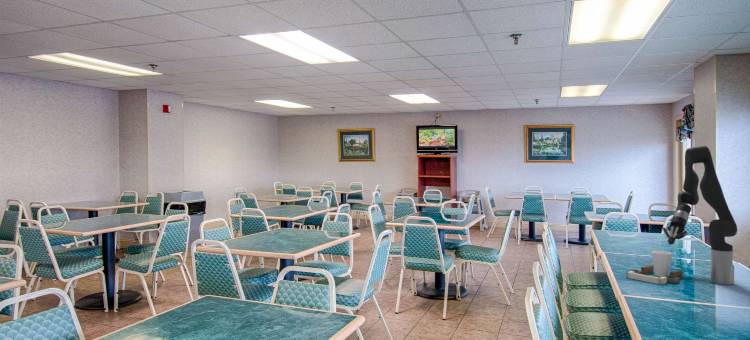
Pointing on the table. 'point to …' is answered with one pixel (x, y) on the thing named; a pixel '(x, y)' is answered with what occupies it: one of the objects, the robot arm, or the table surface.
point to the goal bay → (646, 278)
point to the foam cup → (661, 263)
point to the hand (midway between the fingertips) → (670, 243)
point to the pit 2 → (673, 279)
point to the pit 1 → (637, 271)
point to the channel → (650, 269)
